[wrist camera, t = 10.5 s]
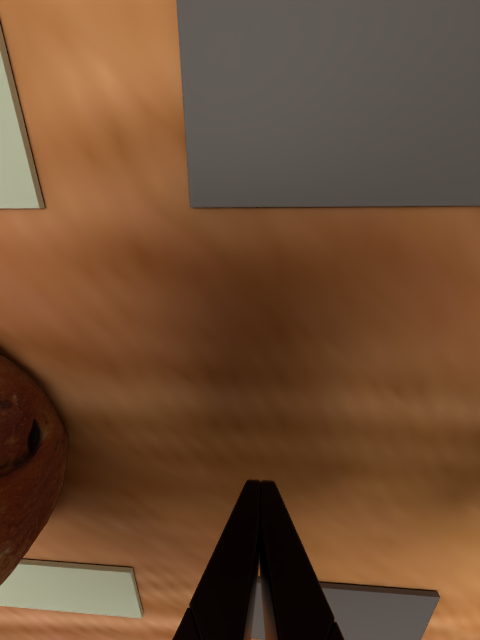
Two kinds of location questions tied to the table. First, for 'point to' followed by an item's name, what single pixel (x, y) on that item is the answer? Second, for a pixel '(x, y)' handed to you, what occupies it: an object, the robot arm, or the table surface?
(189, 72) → the trap lane
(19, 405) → the bread roll
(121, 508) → the table surface
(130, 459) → the table surface
